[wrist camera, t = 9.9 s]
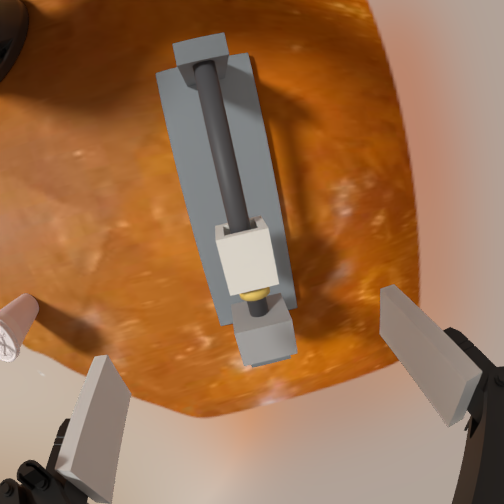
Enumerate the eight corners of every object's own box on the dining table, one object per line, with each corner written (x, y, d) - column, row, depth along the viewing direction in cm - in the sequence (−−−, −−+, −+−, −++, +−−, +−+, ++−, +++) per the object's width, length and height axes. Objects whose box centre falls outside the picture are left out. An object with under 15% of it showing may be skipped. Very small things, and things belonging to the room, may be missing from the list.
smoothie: (38, 283, 35) (-14, 341, 22) (52, 323, 37) (10, 387, 24) (7, 285, 34) (-46, 337, 21) (21, 323, 36) (-22, 381, 23)
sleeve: (215, 225, 28) (215, 240, 24) (260, 215, 28) (268, 228, 24) (227, 275, 30) (230, 295, 26) (270, 264, 30) (279, 284, 26)
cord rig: (156, 74, 28) (130, 45, 17) (247, 54, 29) (263, 16, 18) (220, 322, 40) (224, 385, 29) (295, 304, 40) (322, 361, 29)
